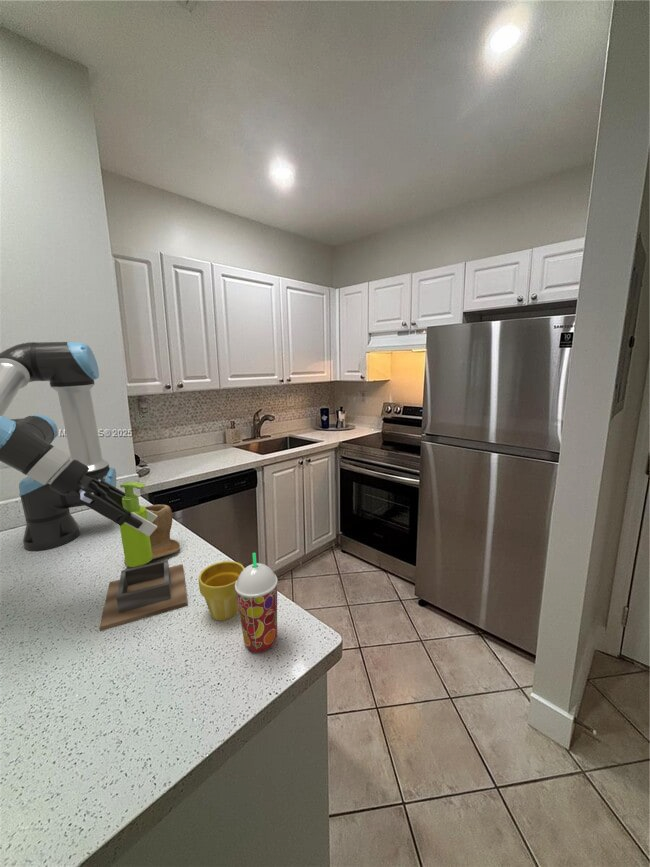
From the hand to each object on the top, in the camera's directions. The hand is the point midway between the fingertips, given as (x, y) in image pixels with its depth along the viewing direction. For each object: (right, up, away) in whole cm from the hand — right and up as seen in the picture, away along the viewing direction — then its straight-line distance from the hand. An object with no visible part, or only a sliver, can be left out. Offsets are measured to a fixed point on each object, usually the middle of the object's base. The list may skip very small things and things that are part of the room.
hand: (153, 525), depth 86 cm
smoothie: (+29, -21, -14) cm, 38 cm away
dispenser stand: (-3, -18, +2) cm, 18 cm away
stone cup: (-11, -15, +22) cm, 28 cm away
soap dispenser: (-3, -9, 0) cm, 9 cm away
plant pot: (+19, -19, -4) cm, 27 cm away
